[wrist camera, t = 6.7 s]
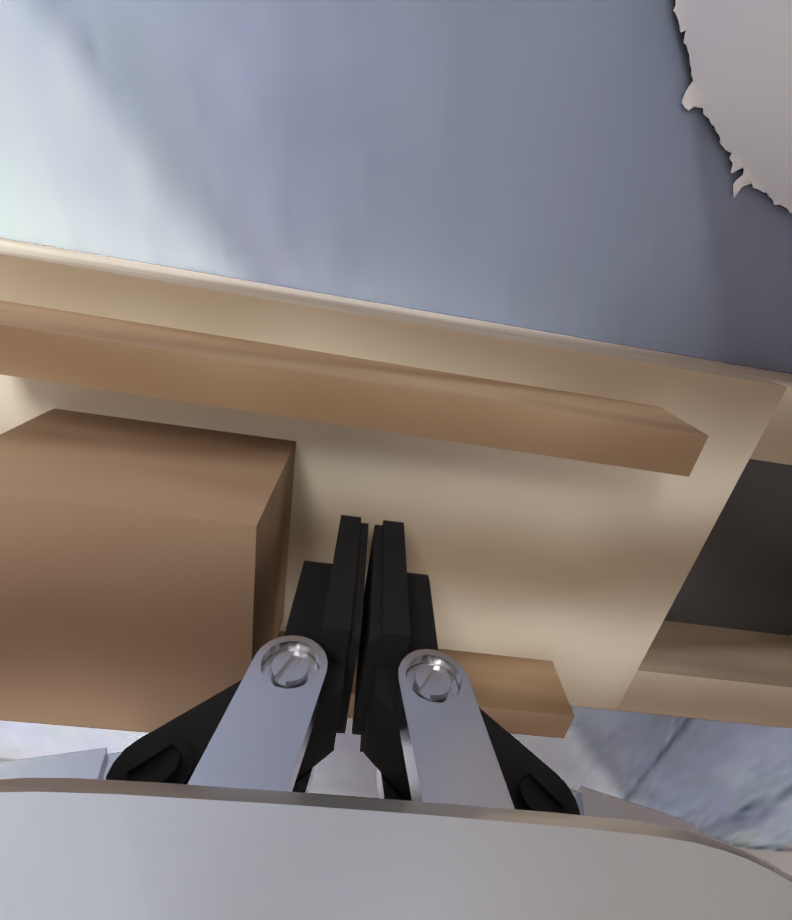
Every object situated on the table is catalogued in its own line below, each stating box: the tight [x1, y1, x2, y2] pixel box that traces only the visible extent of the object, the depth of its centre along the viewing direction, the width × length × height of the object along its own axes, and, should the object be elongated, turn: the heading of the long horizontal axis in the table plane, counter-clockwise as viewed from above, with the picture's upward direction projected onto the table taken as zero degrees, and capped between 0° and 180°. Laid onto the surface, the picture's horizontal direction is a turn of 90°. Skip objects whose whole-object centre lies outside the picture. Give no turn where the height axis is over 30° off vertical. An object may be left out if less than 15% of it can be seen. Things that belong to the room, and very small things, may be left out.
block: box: [0, 409, 296, 733], centre depth 11 cm, size 6×6×4 cm
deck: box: [0, 238, 792, 738], centre depth 14 cm, size 12×40×5 cm, turn 81°
